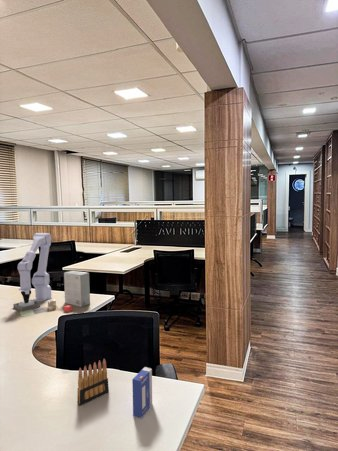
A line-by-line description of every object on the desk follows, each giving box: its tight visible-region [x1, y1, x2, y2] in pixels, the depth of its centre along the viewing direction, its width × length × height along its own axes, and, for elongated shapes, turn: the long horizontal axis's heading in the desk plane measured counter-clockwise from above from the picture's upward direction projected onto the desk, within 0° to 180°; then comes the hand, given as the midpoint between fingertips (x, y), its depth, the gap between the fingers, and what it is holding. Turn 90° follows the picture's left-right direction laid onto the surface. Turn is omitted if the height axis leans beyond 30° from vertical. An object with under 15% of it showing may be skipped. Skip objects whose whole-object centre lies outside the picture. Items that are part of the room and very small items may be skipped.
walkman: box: [131, 366, 153, 419], centre depth 100 cm, size 8×3×12 cm, turn 155°
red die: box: [63, 304, 73, 313], centre depth 190 cm, size 3×3×3 cm
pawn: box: [47, 298, 57, 310], centre depth 195 cm, size 4×4×5 cm
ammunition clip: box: [76, 358, 110, 407], centre depth 107 cm, size 11×2×12 cm, turn 132°
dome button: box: [17, 299, 35, 307], centre depth 198 cm, size 9×9×2 cm
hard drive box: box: [63, 270, 91, 308], centre depth 204 cm, size 16×8×20 cm, turn 58°
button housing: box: [12, 299, 41, 312], centre depth 198 cm, size 11×11×2 cm
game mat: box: [19, 304, 60, 317], centre depth 192 cm, size 21×9×1 cm, turn 120°
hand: (26, 302), depth 198 cm, fingers closed, pressing on dome button
